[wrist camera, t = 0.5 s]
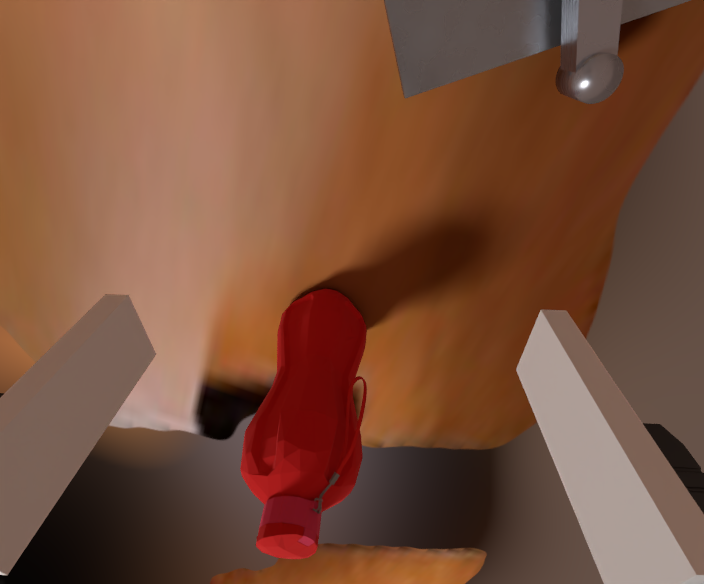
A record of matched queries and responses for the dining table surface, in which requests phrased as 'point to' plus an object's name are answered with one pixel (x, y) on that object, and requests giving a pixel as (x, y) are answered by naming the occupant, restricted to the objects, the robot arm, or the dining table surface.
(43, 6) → the dining table surface
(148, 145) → the dining table surface
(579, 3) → the ring nut
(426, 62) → the housing
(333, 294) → the water bottle
